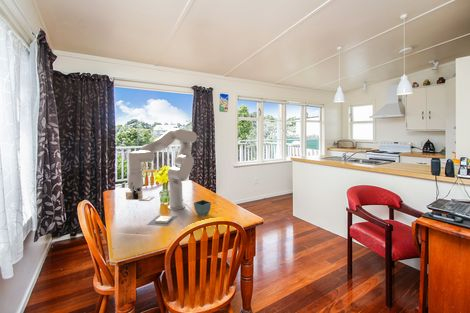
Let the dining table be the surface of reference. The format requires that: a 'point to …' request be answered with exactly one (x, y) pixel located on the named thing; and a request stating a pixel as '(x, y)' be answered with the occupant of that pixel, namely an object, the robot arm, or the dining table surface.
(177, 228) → the dining table surface
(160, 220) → the tile
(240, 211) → the dining table surface
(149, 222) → the mat
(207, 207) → the flower pot
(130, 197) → the turner
